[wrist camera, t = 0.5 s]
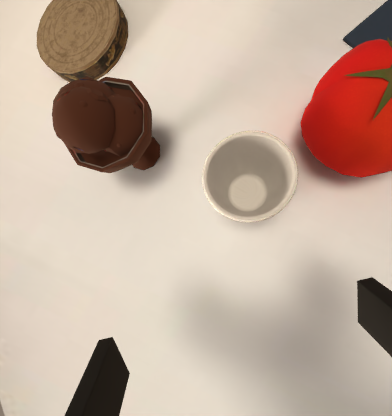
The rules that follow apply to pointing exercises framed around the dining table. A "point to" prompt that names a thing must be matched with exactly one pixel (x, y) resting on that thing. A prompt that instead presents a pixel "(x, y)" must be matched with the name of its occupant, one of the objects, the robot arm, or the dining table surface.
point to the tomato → (353, 112)
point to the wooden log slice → (82, 37)
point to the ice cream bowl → (105, 124)
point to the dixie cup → (250, 176)
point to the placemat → (373, 27)
